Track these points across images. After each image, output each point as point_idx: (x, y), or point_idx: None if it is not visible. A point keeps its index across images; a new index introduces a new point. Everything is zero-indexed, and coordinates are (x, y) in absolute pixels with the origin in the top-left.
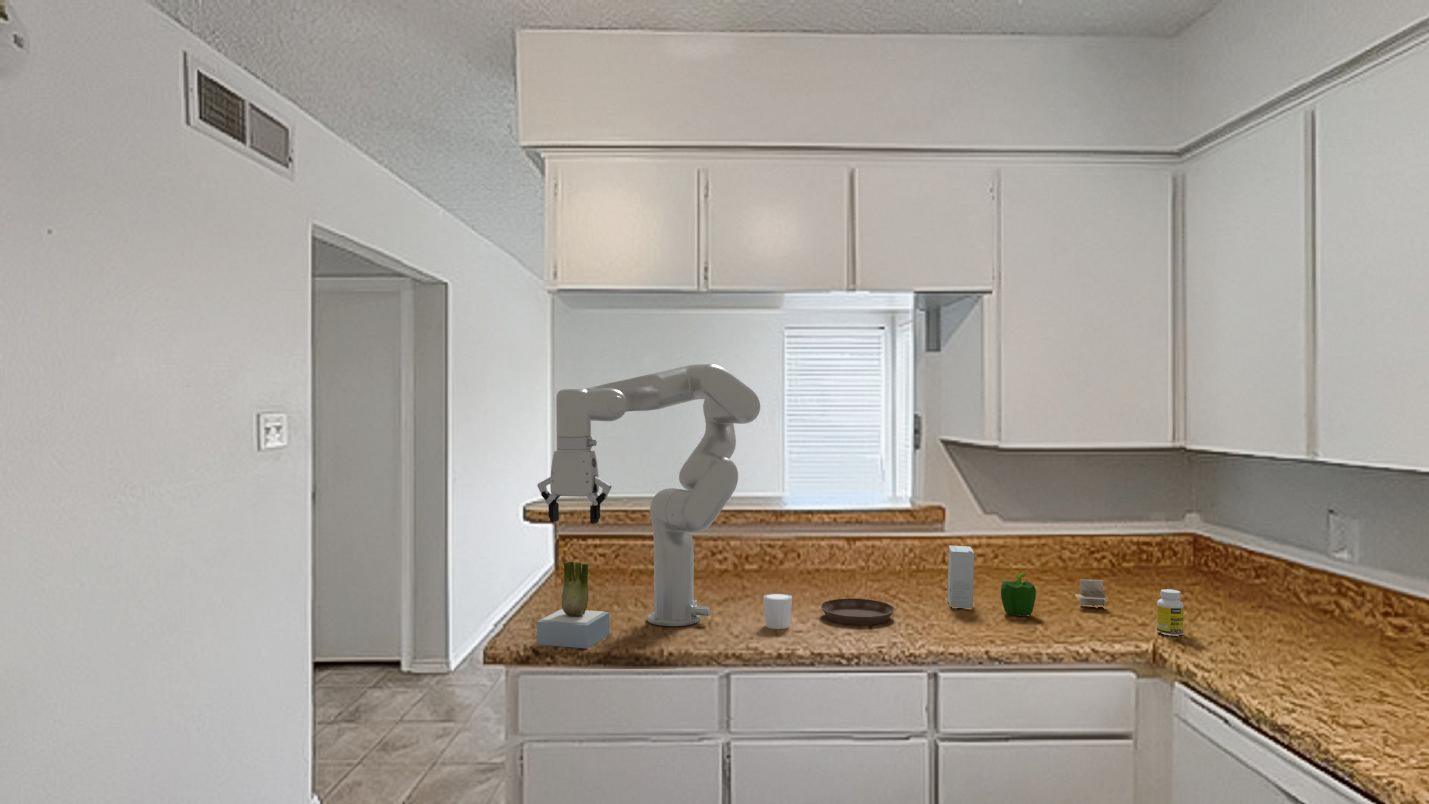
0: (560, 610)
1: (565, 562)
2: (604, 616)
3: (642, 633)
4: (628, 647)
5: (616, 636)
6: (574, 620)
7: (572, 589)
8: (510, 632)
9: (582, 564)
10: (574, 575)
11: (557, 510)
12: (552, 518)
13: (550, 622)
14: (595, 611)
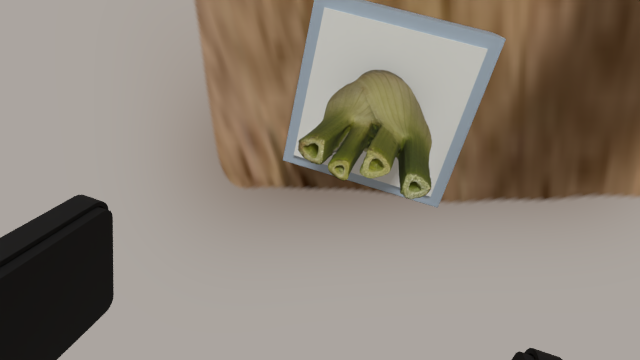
0: (323, 36)
1: (307, 159)
2: (486, 84)
3: (615, 11)
4: (551, 172)
5: (517, 54)
6: (391, 170)
7: (366, 149)
8: (199, 18)
9: (402, 194)
10: (363, 140)
11: (27, 292)
12: (88, 325)
13: (323, 172)
14: (451, 48)
